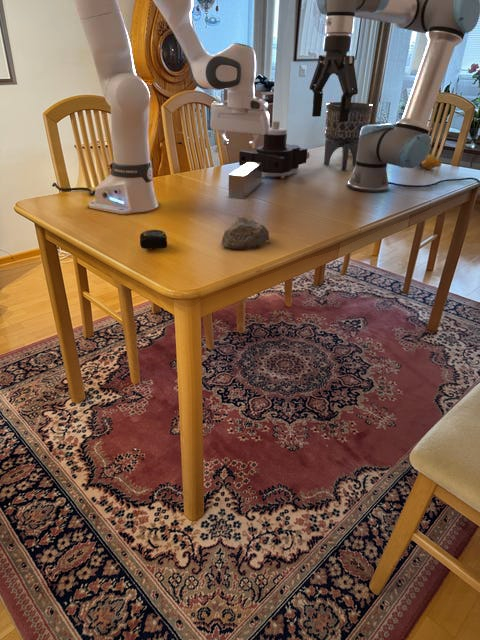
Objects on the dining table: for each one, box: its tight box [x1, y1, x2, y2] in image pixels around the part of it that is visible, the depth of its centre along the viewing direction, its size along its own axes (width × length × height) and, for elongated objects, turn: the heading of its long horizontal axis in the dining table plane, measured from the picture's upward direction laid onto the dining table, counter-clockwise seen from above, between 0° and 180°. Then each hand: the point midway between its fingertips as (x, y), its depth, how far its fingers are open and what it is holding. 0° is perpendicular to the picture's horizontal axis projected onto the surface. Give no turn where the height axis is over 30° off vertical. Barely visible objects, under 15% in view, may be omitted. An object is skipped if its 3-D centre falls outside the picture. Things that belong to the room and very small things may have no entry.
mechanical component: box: [238, 120, 311, 179], centre depth 191 cm, size 22×21×30 cm
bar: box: [228, 162, 263, 200], centre depth 169 cm, size 24×6×8 cm, turn 163°
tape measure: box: [139, 229, 168, 250], centre depth 117 cm, size 7×7×4 cm
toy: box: [418, 154, 442, 170], centre depth 212 cm, size 11×6×15 cm
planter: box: [323, 101, 374, 172], centre depth 204 cm, size 20×20×26 cm
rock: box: [221, 216, 270, 250], centre depth 119 cm, size 13×9×6 cm, turn 131°
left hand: (238, 146), depth 155 cm, fingers open, 8 cm apart
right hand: (329, 119), depth 136 cm, fingers open, 13 cm apart
